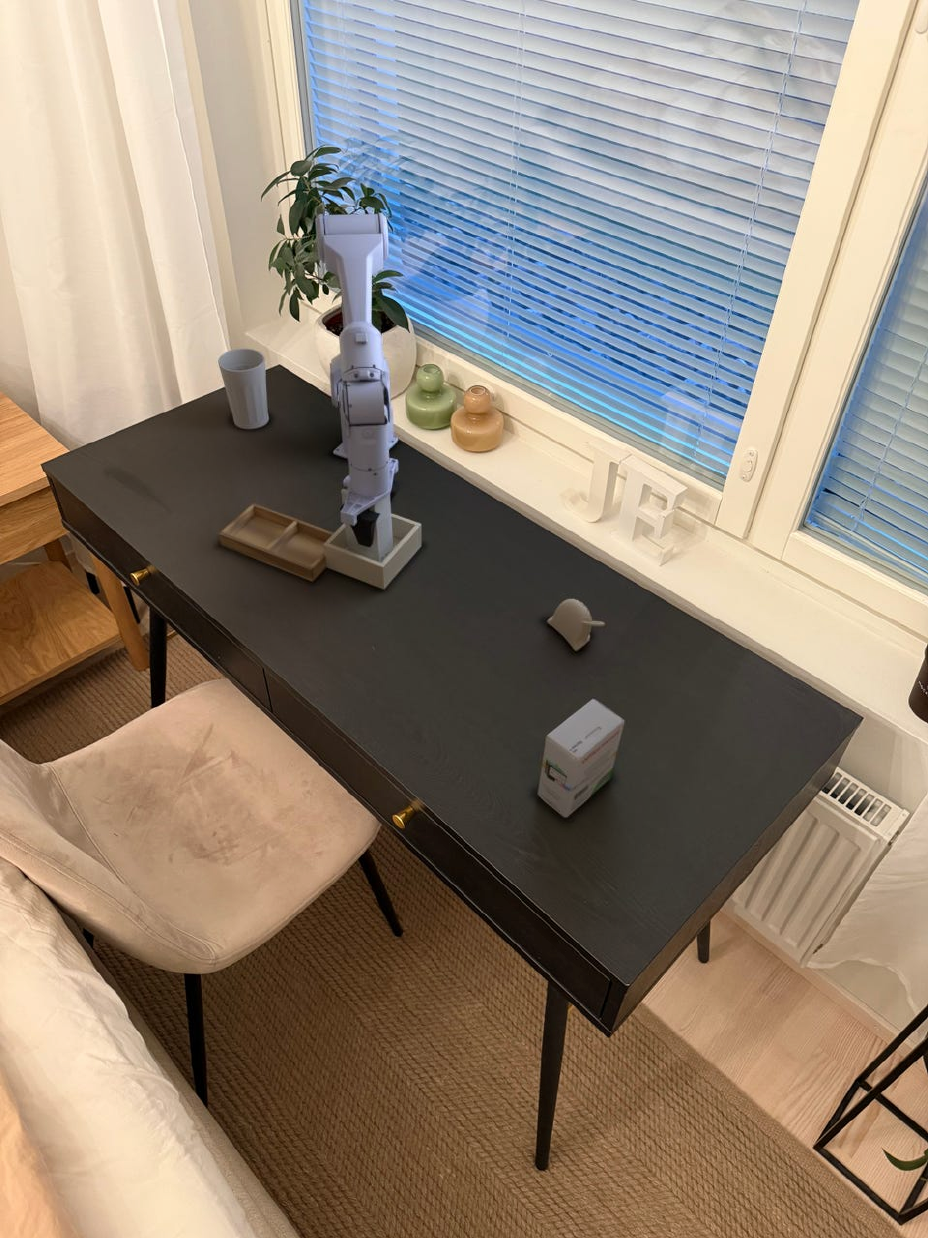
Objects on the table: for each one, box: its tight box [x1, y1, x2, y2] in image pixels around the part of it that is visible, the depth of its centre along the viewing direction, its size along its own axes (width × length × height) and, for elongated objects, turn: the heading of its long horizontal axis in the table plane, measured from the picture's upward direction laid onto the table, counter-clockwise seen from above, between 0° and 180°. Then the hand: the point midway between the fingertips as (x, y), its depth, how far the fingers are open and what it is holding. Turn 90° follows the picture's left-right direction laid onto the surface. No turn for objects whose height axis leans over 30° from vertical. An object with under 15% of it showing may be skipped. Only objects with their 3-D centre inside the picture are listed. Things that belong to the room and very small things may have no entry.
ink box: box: [537, 698, 626, 819], centre depth 105 cm, size 8×5×12 cm, turn 134°
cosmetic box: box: [340, 486, 393, 563], centre depth 133 cm, size 6×4×12 cm
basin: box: [323, 512, 422, 590], centre depth 136 cm, size 11×10×4 cm
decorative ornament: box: [546, 598, 606, 652], centre depth 125 cm, size 4×8×5 cm, turn 32°
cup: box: [217, 348, 270, 430], centre depth 159 cm, size 8×8×12 cm
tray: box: [218, 502, 335, 583], centre depth 138 cm, size 9×17×2 cm, turn 63°
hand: (372, 534), depth 135 cm, fingers closed on cosmetic box, 4 cm apart
